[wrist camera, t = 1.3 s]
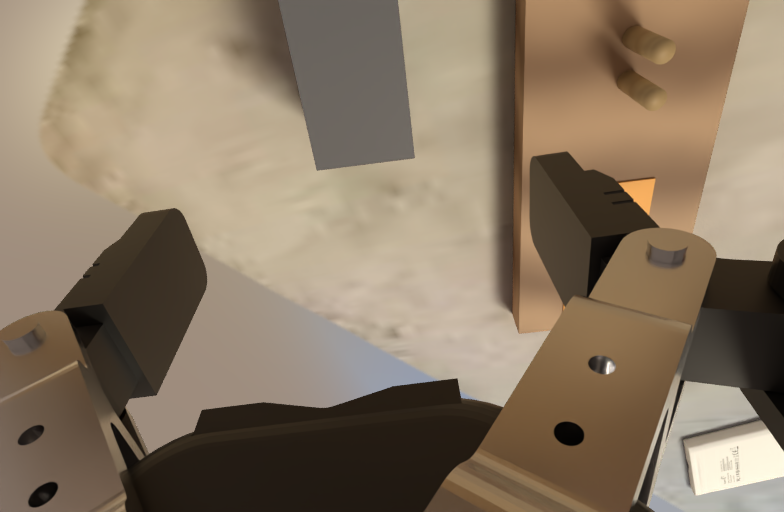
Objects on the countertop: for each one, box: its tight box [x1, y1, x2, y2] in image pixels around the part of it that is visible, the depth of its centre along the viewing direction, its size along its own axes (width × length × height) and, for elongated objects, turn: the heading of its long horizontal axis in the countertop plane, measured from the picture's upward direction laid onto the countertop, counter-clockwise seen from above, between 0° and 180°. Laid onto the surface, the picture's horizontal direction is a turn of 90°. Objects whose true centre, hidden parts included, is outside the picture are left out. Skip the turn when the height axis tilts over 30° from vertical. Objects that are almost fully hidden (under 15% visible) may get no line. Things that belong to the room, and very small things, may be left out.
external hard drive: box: [683, 420, 784, 495], centre depth 45 cm, size 2×8×12 cm
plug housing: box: [278, 0, 415, 171], centre depth 23 cm, size 9×5×5 cm, turn 7°
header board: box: [512, 0, 749, 334], centre depth 27 cm, size 22×10×5 cm, turn 7°
